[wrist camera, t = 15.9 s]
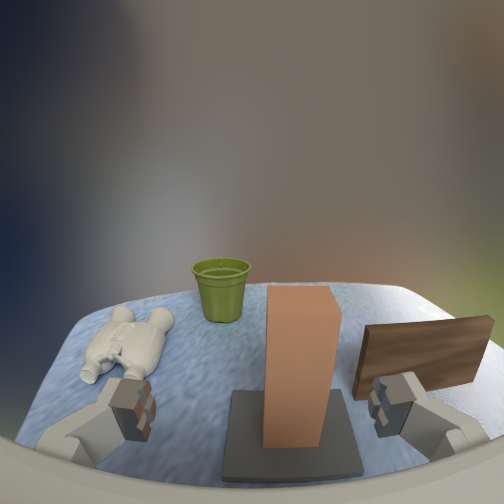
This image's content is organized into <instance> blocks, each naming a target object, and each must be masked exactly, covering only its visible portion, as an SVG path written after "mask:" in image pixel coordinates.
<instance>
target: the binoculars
mask: <svg viewBox="0 0 504 504" xmlns="http://www.w3.org/2000/svg"><path fill="white" fill-rule="evenodd" d="M134 321H135V316H134V313H133V312H132V310H131V309H130V308H128V307H126V306H122V305H121V306H117V307H115V308H114V309H113V310H112V312H111V318H110V321H109V322H107V323H105V324H104V325H102V326H101V327H100V329H99V330H98V331H97V333H96V334H95V335H94V337H93V338H92V339H91V341H90V343H89V344H88V346H87V347H86V350H85V354H84V358H85V363H84V364H83V366H82V368H81V369H80V371H79V376H80V378H81V379H82V380H83V381H84V382H85V383H88V384H93V383H95V381H96V379H97V378H98V376H99V375H102V374H105V373H106V372H108V371H109V370H111V369H112V368H113V367H114V365H115V363H119V364H122V366H123V368H124V370H125V374H124V376H123V378H128V379H135V380H143V379H144V377H147V376H149V375H150V374H151V373H153V372H154V370H155V369H156V367H157V364H158V362H159V359H160V356H161V353H162V351H163V348H164V345H165V343H166V336H165V333H166V332H167V331H168V330H170V329H171V328H172V327H173V325H174V316H173V314H172V312H171V311H170V310H169V309H167V308H165V307H156V308H154V309H153V310H152V311H151V312H150V315H149V319H148V321H147V322H134ZM120 354H121V356H120Z"/></svg>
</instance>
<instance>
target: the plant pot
mask: <svg viewBox="0 0 504 504" xmlns="http://www.w3.org/2000/svg"><path fill="white" fill-rule="evenodd" d="M250 270H251V264H250V263H248V262H247V261H244V260H241V259H235V258H212V259H206V260H202V261H199V262H197V263H195V264H193V265H192V267H191V271H192V273H193V274H194V275H195V278H196V280H197V282H198V287H199V291H200V296H201V301H202V305H203V310H204V314H205V317H206V319H208V320H209V321H212V322H224V323H229V322H233V321H235V320H237V319H239V318H240V316H241V313H242V306H243V298H244V290H245V283H246V279H247V277H248V272H249V271H250Z"/></svg>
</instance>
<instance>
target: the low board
mask: <svg viewBox="0 0 504 504" xmlns="http://www.w3.org/2000/svg"><path fill="white" fill-rule="evenodd" d="M494 322H495V320H493V319H492V318H491V317H490V316H489V315H485V316H475V317H467V318H457V319H446V320H435V321H423V322H409V323H393V324H375V325H365V331H364V336H363V342H362V347H361V352H360V357H359V362H358V367H357V371H356V376H355V380H354V385H353V389H352V394H353V397H354V400H355V401H356V400H367V399H369V395H370V393H371V392H372V391H373V390H374V388H373V386H372V384H373V381H374V379H375V377H380V376H387V375H393V374H400V373H404V372H410V371H412V372H414V374H415V375H416V377H417V378H418V380H419V382H420V383H421V385H422V386H423V388H424V390H425V391H431V390H437V389H442V388H447V387H452V386H457V385H462V384H466V383H470V382H473V380H474V378H475V376H476V373H477V371H478V368H479V366H480V363H481V360H482V358H483V355H484V352H485V349H486V347H487V344H488V341H489V338H490V334H491V331H492V328H493V325H494Z"/></svg>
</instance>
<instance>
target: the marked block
mask: <svg viewBox="0 0 504 504" xmlns="http://www.w3.org/2000/svg"><path fill="white" fill-rule="evenodd" d="M341 317H342V312H341V310H340V308H339V306H338V304H337V302H336V300H335V298H334V296H333V294H332V292H331V290H330V288H329V286H267V316H266V353H265V385H264V415H263V448H303V447H318V445H319V441H320V436H321V432H322V427H323V423H324V418H325V413H326V408H327V403H328V398H329V393H330V387H331V382H332V376H333V370H334V364H335V358H336V352H337V345H338V339H339V332H340V325H341Z"/></svg>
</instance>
